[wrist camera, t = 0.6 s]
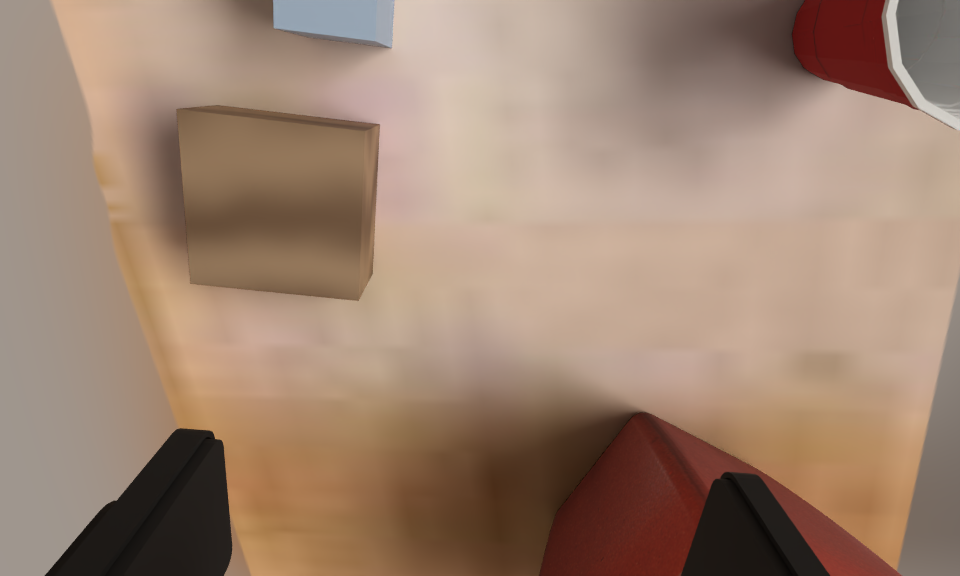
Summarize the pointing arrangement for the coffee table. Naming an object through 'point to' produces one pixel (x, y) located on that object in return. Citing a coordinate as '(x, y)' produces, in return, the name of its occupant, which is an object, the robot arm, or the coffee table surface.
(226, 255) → the walnut plinth
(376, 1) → the slate block
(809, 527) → the plant pot
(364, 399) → the coffee table surface
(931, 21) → the plastic cup
